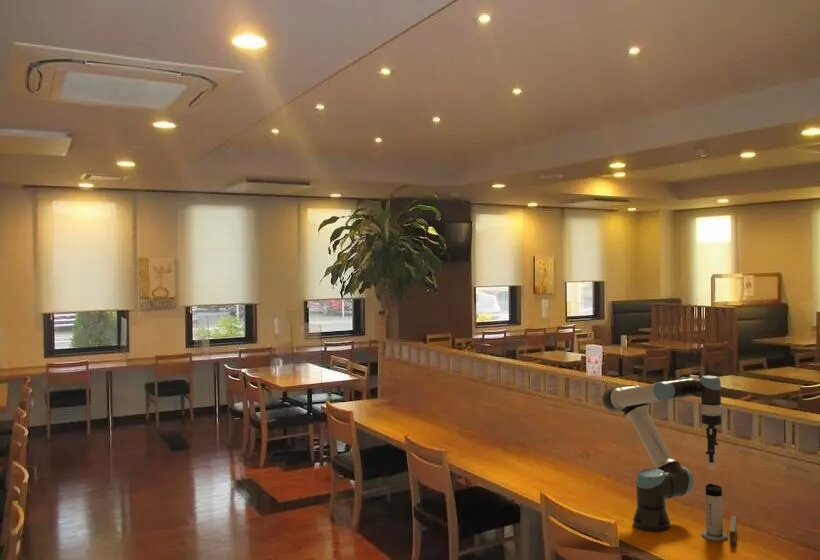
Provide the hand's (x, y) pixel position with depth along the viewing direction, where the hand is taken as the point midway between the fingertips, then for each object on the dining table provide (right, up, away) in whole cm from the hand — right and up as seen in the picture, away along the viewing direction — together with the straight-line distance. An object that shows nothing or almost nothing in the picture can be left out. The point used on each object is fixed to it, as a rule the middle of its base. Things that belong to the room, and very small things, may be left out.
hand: (712, 465), depth 285 cm
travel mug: (+1, -29, 0) cm, 29 cm away
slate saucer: (+1, -29, 0) cm, 29 cm away
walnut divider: (+8, -29, -2) cm, 30 cm away
